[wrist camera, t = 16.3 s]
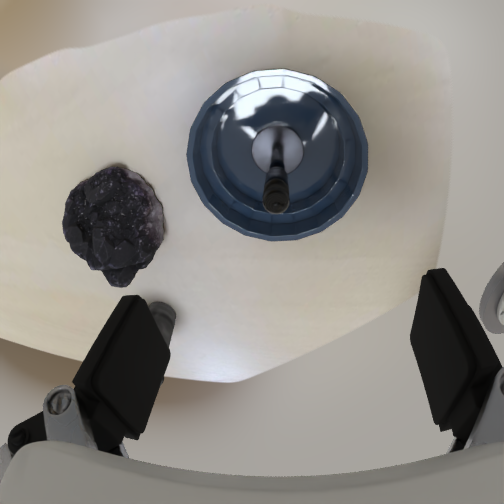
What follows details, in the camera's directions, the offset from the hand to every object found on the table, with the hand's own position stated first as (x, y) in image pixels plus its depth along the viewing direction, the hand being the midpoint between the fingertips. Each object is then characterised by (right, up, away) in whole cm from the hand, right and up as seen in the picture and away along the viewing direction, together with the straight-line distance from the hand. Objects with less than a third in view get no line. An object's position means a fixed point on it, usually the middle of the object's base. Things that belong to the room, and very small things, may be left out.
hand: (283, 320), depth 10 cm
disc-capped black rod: (+2, +13, +21) cm, 24 cm away
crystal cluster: (-18, +7, +27) cm, 33 cm away
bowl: (+2, +13, +21) cm, 25 cm away
